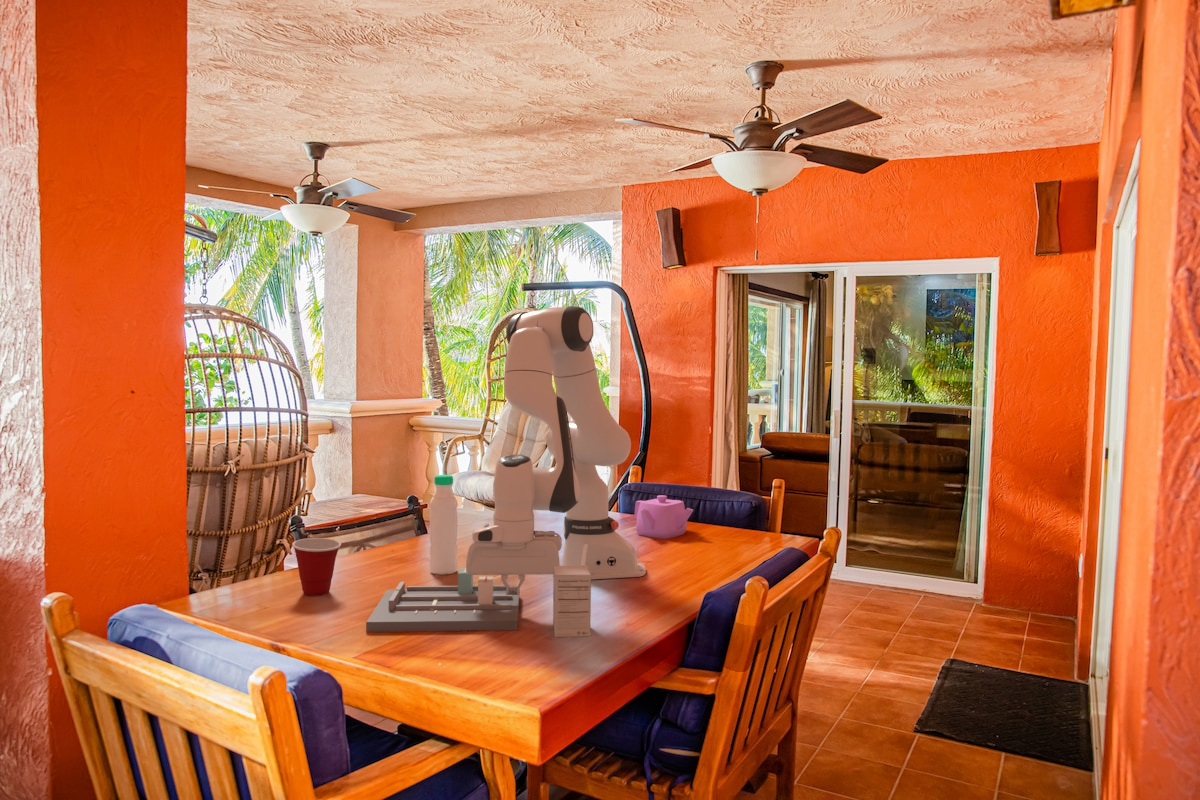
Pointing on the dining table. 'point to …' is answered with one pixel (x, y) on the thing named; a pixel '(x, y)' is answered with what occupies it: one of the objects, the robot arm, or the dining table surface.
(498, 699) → the dining table surface
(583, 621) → the supplement box
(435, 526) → the water bottle
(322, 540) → the plastic cup
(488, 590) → the fader
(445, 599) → the console
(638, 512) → the teakettle
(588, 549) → the robot arm
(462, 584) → the fader
